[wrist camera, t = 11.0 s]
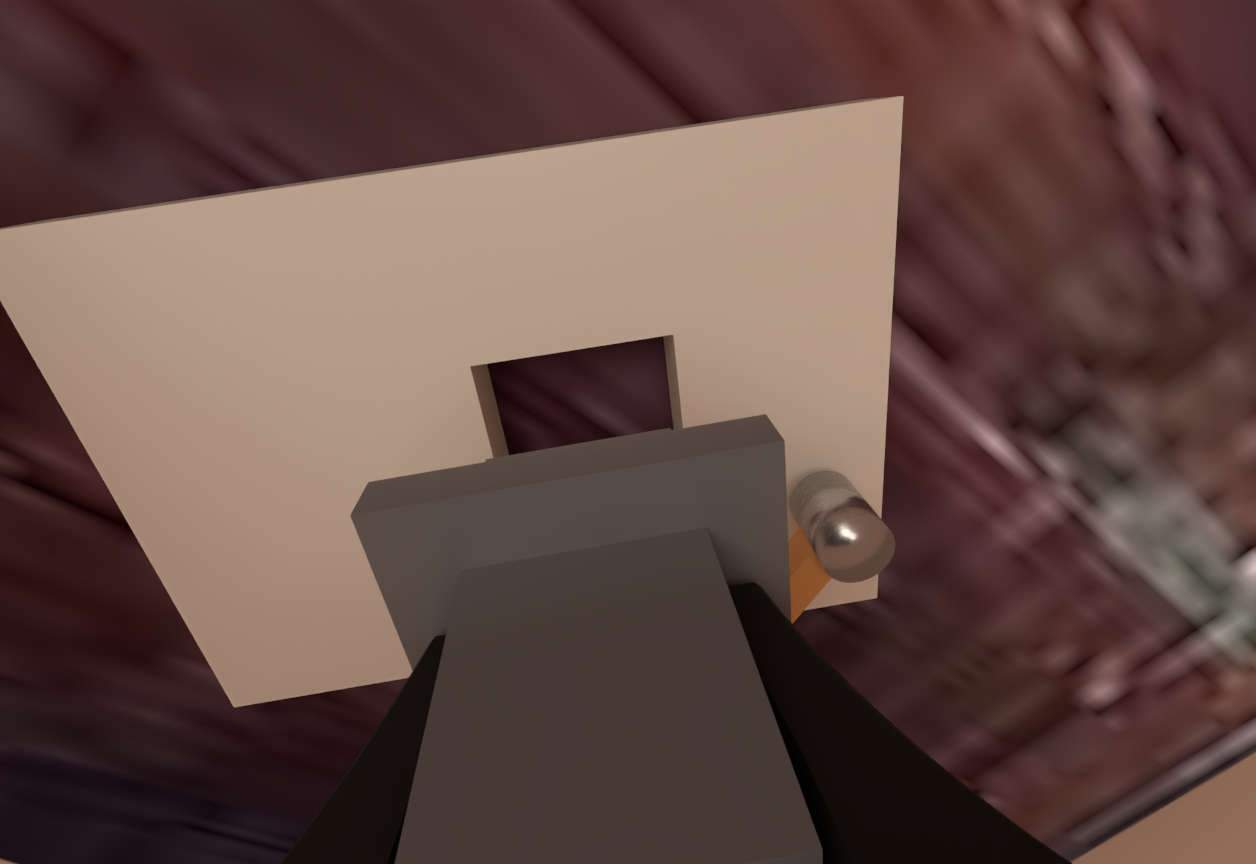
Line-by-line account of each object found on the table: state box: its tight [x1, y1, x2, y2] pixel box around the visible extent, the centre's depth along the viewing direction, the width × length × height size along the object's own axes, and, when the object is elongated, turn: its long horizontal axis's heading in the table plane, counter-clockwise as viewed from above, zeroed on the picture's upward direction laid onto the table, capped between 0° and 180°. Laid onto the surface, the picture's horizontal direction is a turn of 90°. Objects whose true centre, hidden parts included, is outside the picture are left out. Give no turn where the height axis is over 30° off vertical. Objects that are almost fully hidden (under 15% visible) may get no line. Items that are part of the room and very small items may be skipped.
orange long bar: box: [788, 471, 895, 624], centre depth 19 cm, size 16×2×2 cm, turn 149°
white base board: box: [0, 96, 903, 707], centre depth 18 cm, size 20×14×2 cm
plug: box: [350, 414, 823, 864], centre depth 9 cm, size 6×6×10 cm
